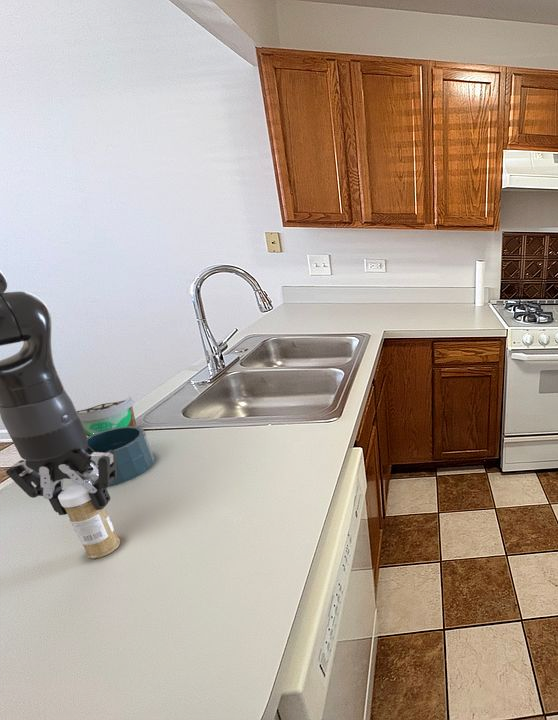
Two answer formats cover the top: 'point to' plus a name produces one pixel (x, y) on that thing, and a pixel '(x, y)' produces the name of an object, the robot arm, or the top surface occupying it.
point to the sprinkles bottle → (89, 522)
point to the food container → (107, 416)
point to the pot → (124, 451)
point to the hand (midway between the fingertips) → (84, 508)
